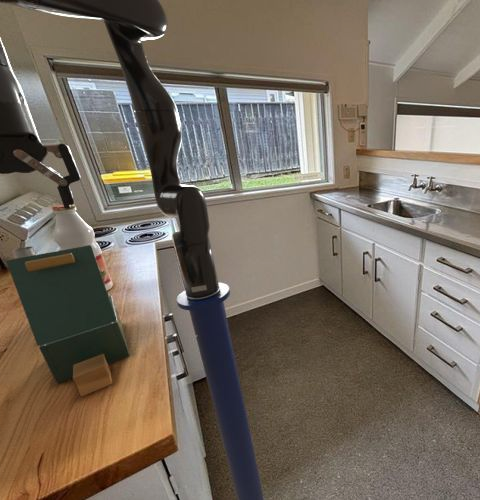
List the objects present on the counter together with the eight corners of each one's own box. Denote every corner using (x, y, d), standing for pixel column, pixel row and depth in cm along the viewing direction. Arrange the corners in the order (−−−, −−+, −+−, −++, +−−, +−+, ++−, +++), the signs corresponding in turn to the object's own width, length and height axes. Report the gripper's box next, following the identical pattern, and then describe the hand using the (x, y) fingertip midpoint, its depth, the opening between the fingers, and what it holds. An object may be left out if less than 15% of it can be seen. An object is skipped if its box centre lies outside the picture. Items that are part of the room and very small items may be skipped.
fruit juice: (118, 281, 98) (90, 201, 88) (106, 294, 89) (74, 207, 80) (84, 286, 95) (52, 203, 85) (69, 299, 87) (31, 210, 77)
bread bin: (60, 345, 66) (45, 313, 63) (122, 325, 73) (111, 295, 70) (57, 384, 55) (39, 347, 52) (129, 355, 63) (117, 322, 60)
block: (81, 382, 56) (73, 364, 54) (110, 371, 58) (103, 353, 57) (81, 396, 52) (72, 378, 51) (112, 383, 55) (104, 365, 54)
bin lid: (6, 260, 51) (-4, 258, 47) (91, 245, 58) (88, 242, 54) (38, 345, 52) (31, 350, 48) (116, 320, 60) (116, 322, 55)
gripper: (59, 108, 48) (90, 203, 53) (-83, 99, 39) (-29, 214, 45) (54, 102, 42) (89, 208, 48) (-112, 91, 34) (-47, 222, 39)
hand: (32, 211), depth 46 cm, fingers open, 8 cm apart
